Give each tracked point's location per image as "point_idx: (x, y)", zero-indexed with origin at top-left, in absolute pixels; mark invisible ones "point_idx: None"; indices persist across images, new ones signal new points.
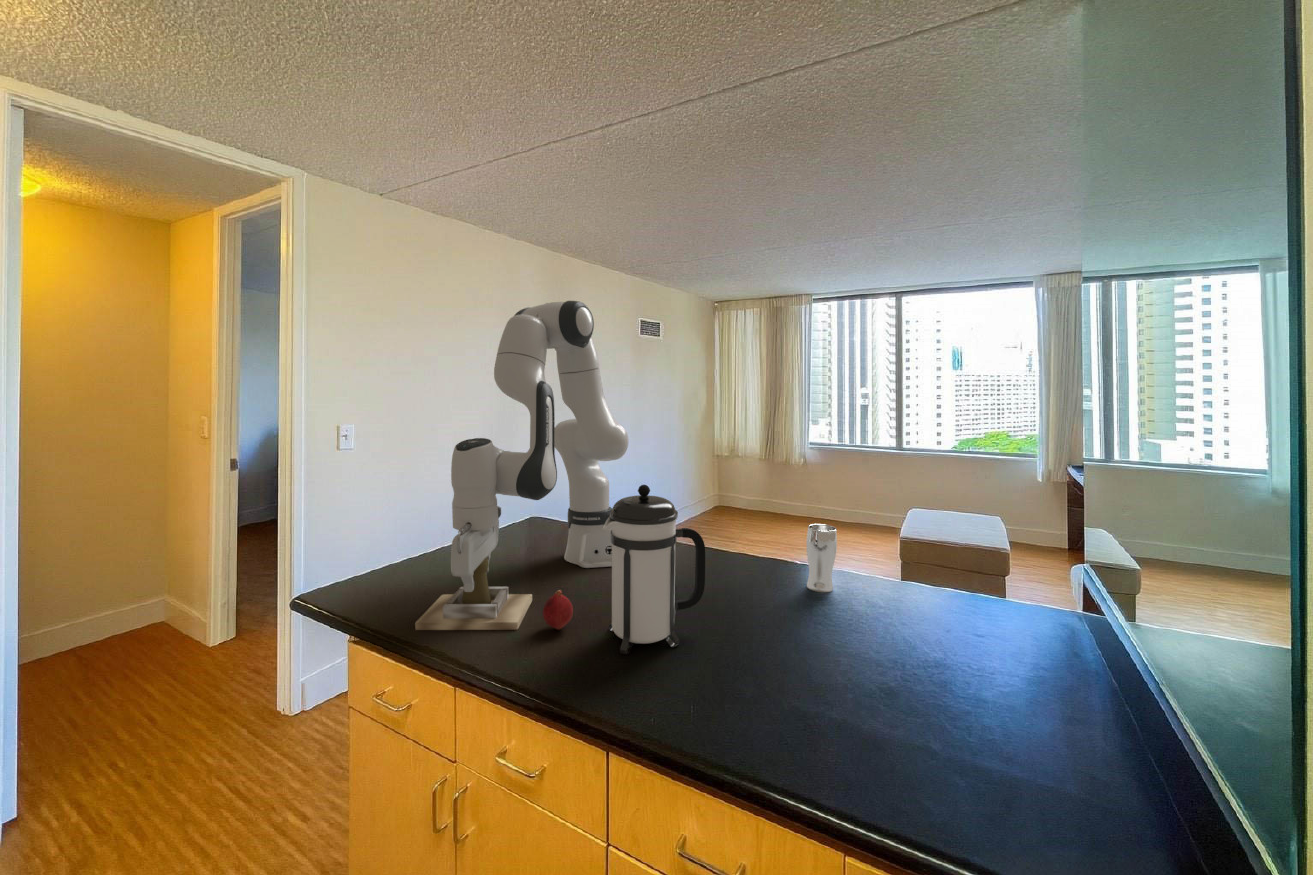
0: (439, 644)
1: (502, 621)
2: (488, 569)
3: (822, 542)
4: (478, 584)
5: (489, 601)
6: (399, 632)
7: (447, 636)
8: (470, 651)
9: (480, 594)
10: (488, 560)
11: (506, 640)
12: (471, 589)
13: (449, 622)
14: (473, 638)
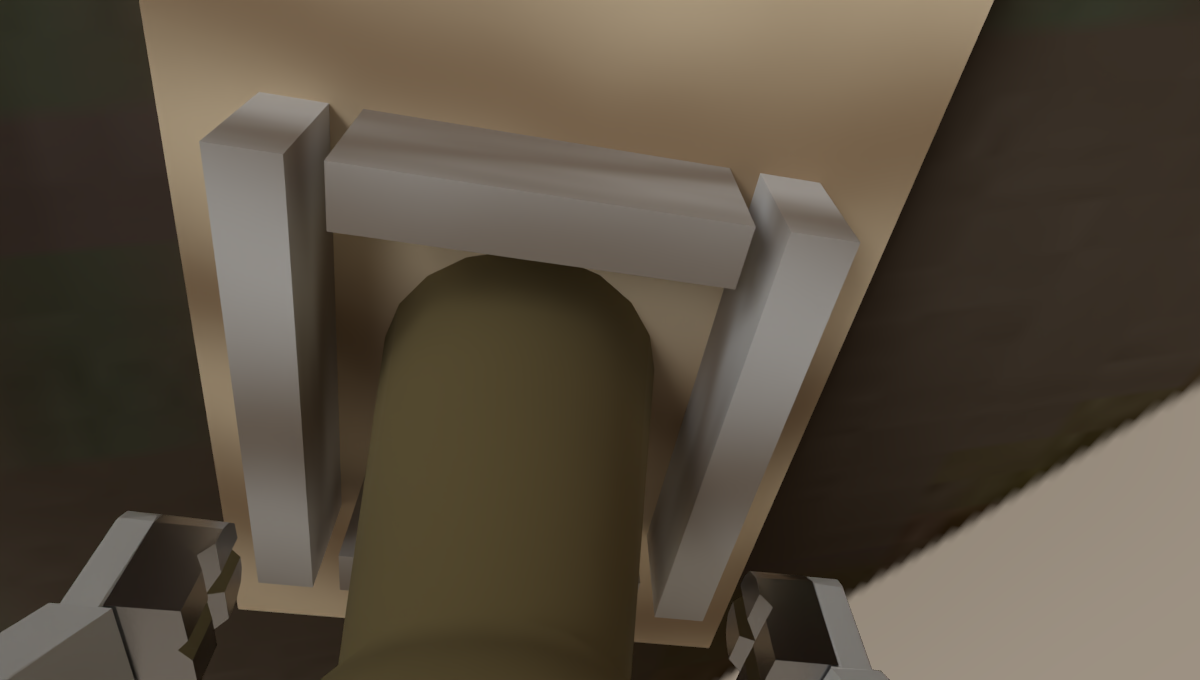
0: (958, 474)
1: (928, 105)
2: (112, 537)
3: None
4: (628, 553)
5: (548, 300)
6: (707, 654)
7: (860, 453)
8: (1183, 291)
9: (632, 443)
10: (19, 674)
11: (1170, 19)
12: (839, 603)
13: (770, 498)
14: (974, 298)
